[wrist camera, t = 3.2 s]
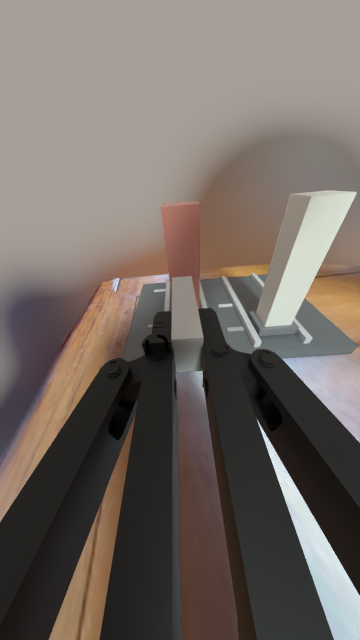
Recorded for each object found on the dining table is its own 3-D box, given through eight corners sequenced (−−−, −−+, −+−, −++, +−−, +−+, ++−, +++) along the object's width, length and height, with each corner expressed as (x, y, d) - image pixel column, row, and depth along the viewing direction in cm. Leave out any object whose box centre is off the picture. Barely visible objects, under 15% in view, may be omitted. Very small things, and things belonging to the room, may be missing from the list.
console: (274, 279, 37) (278, 269, 36) (351, 353, 21) (363, 340, 20) (144, 290, 38) (142, 280, 36) (124, 369, 22) (118, 358, 20)
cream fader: (280, 315, 25) (333, 189, 15) (295, 333, 22) (372, 191, 12) (248, 317, 25) (279, 194, 15) (258, 336, 22) (305, 197, 12)
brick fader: (201, 313, 27) (202, 199, 17) (204, 329, 24) (209, 203, 14) (171, 315, 27) (155, 204, 17) (170, 332, 24) (152, 208, 14)
